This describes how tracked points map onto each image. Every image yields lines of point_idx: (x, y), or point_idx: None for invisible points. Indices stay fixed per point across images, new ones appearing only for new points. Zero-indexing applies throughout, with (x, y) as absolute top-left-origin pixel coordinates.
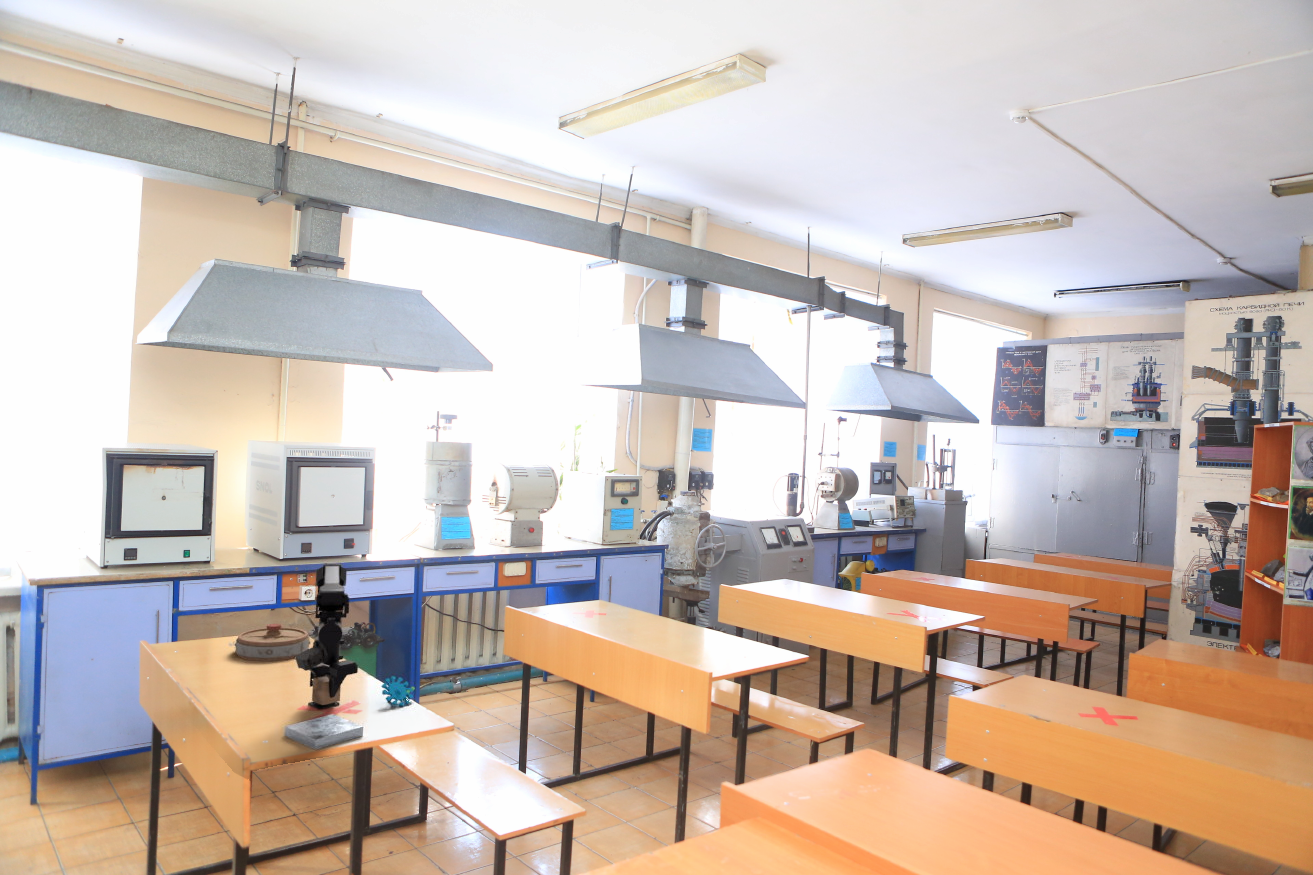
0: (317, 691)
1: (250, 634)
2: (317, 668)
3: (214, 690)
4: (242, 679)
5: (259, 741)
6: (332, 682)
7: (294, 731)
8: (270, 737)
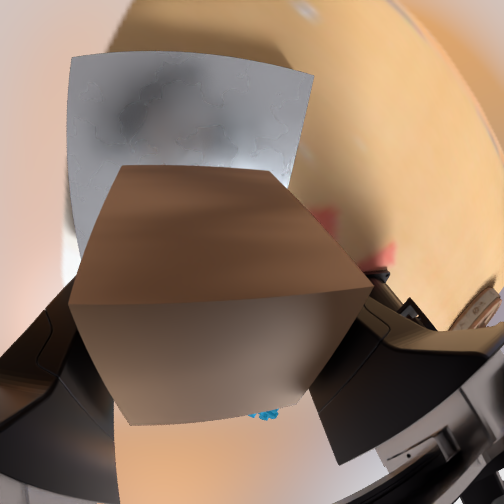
0: (218, 204)
1: (493, 311)
2: (410, 405)
3: (500, 210)
4: (484, 257)
5: (321, 3)
6: (9, 351)
7: (240, 58)
8: (322, 42)
